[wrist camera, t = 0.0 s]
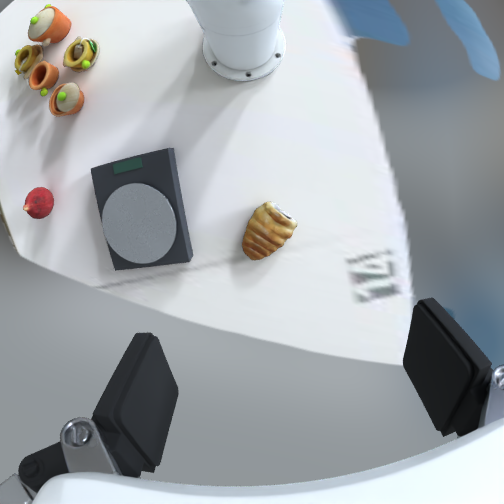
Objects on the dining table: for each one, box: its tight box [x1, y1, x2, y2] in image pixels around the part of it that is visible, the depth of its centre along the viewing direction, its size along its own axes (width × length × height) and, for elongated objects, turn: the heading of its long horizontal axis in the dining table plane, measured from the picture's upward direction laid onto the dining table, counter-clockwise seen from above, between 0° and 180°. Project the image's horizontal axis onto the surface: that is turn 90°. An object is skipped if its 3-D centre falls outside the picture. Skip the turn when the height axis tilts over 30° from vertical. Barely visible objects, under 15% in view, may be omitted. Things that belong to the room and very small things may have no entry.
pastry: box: [242, 202, 297, 260], centre depth 44 cm, size 9×7×4 cm
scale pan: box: [102, 183, 177, 264], centre depth 42 cm, size 13×13×1 cm
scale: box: [91, 148, 193, 271], centre depth 44 cm, size 18×14×3 cm
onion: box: [23, 187, 54, 219], centre depth 40 cm, size 6×6×8 cm
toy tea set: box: [15, 4, 99, 117], centre depth 30 cm, size 26×16×10 cm, turn 43°
